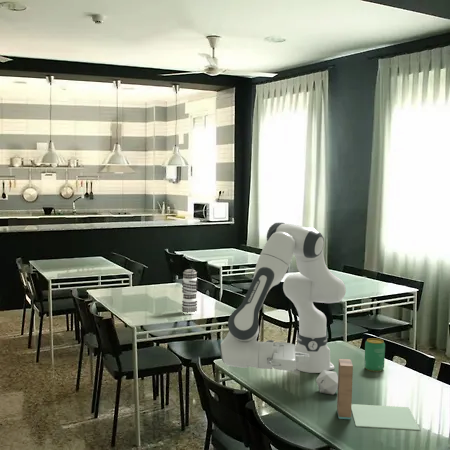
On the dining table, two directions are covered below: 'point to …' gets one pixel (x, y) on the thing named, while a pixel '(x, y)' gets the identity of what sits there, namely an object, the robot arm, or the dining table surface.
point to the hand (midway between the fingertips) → (309, 357)
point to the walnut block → (344, 388)
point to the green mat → (383, 417)
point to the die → (327, 382)
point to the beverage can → (374, 354)
